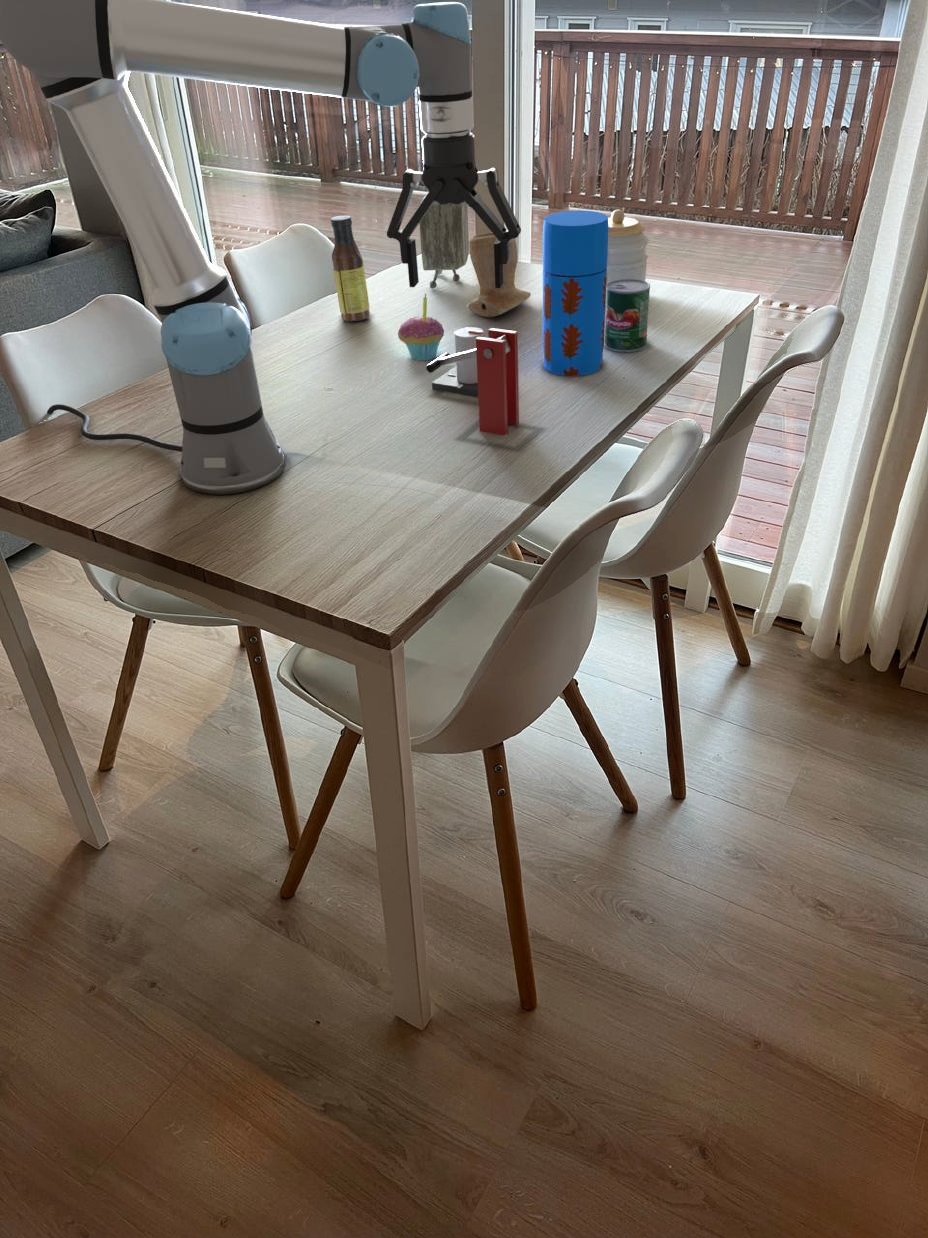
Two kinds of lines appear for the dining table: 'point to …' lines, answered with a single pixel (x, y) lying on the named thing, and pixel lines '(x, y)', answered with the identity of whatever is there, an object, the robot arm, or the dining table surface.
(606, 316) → the canned tomato
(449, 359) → the lever
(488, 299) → the tan piece
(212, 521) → the dining table surface
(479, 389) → the red lever stand
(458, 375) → the knob
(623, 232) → the jar
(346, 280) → the sauce bottle
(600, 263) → the thermos
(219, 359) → the robot arm
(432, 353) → the cupcake
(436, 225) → the tabletop clock
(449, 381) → the dial panel
